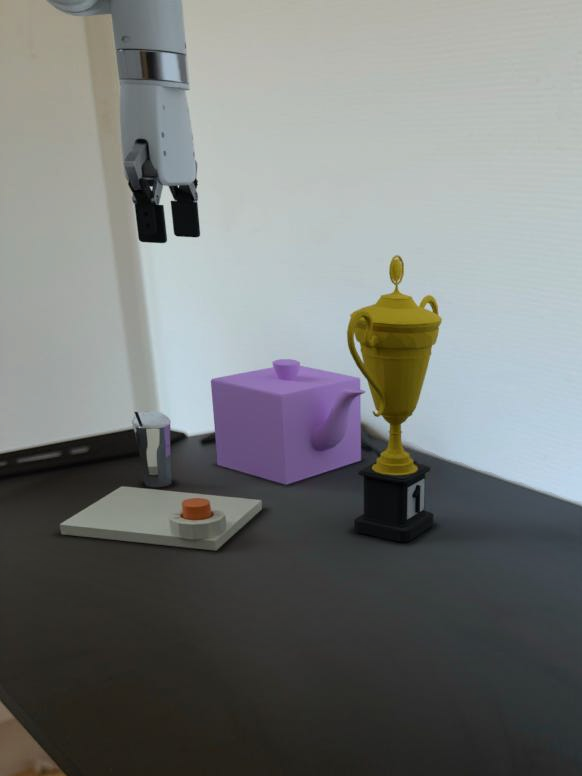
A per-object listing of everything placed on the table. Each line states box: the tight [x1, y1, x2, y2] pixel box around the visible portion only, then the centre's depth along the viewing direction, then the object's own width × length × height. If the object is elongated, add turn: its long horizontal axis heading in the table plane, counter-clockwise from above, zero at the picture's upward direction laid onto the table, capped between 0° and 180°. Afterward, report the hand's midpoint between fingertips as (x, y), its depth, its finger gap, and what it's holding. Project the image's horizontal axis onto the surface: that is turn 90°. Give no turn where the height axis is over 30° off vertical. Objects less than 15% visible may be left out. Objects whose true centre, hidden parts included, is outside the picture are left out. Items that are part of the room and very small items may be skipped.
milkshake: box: [131, 411, 172, 488], centre depth 117 cm, size 4×5×10 cm
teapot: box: [210, 358, 366, 486], centre depth 127 cm, size 15×25×14 cm, turn 56°
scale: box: [59, 485, 263, 552], centre depth 107 cm, size 18×14×3 cm
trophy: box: [346, 254, 443, 543], centre depth 102 cm, size 19×10×30 cm, turn 155°
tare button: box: [182, 498, 211, 520], centre depth 101 cm, size 3×3×2 cm
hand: (170, 239), depth 111 cm, fingers open, 9 cm apart
